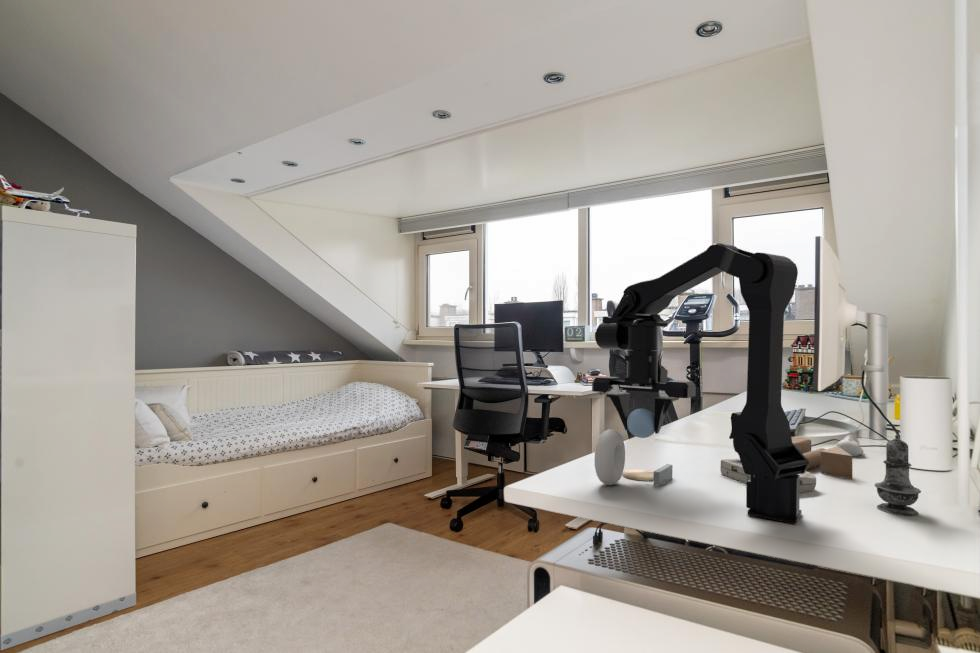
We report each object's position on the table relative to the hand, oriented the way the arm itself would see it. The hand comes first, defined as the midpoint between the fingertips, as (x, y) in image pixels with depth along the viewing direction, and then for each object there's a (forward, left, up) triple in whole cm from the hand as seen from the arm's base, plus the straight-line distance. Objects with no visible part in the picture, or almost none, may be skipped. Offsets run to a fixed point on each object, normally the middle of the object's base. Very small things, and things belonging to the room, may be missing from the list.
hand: (641, 431), depth 105 cm
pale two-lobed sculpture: (-31, -52, -9) cm, 61 cm away
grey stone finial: (-39, -6, -9) cm, 41 cm away
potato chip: (0, 0, -9) cm, 9 cm away
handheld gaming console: (-20, -11, -9) cm, 25 cm away
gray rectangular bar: (-5, +1, -9) cm, 10 cm away
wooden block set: (-26, -34, -9) cm, 44 cm away
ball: (0, 0, +2) cm, 2 cm away
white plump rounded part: (+2, +9, -9) cm, 13 cm away
